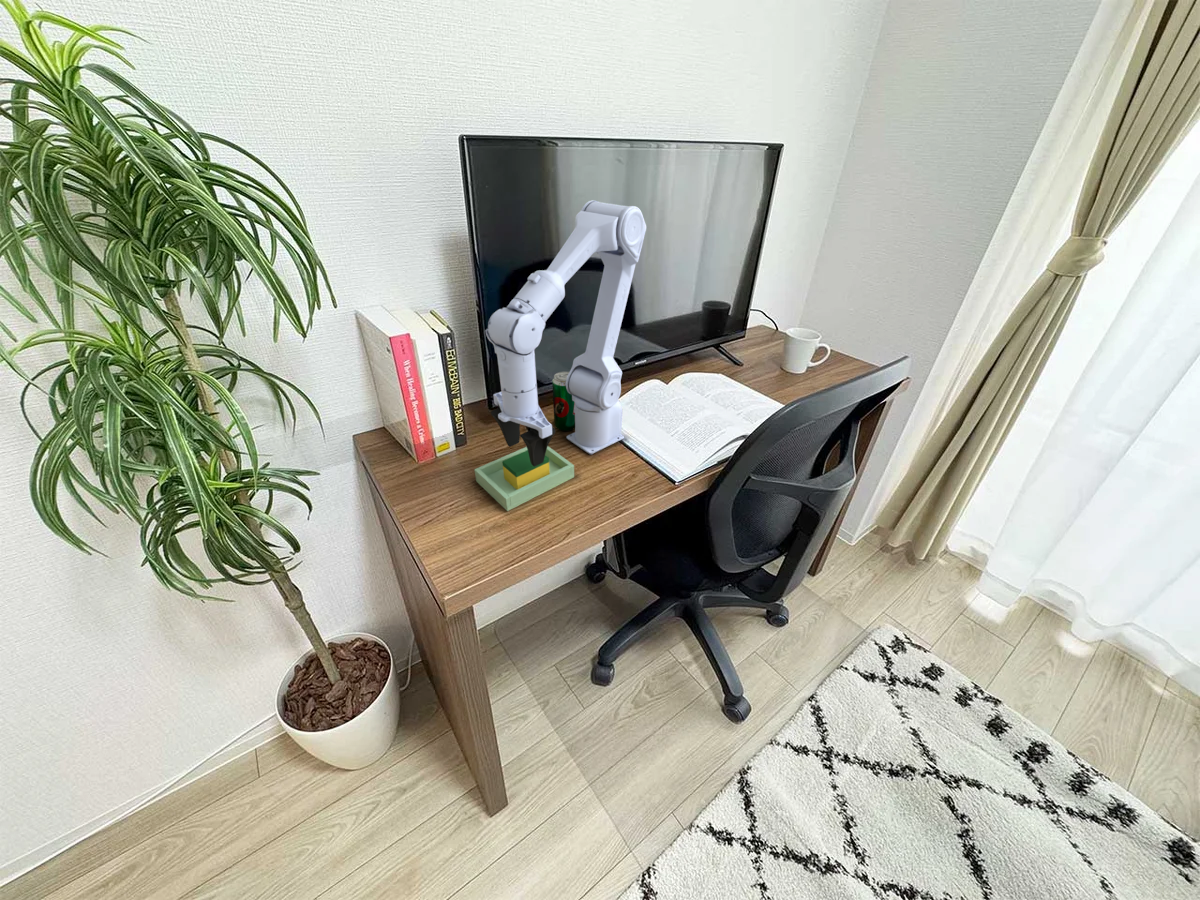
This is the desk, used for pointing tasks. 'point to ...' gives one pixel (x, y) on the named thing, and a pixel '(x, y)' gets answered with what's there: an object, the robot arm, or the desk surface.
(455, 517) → the desk surface
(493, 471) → the tray
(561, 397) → the soda can
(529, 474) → the sponge
